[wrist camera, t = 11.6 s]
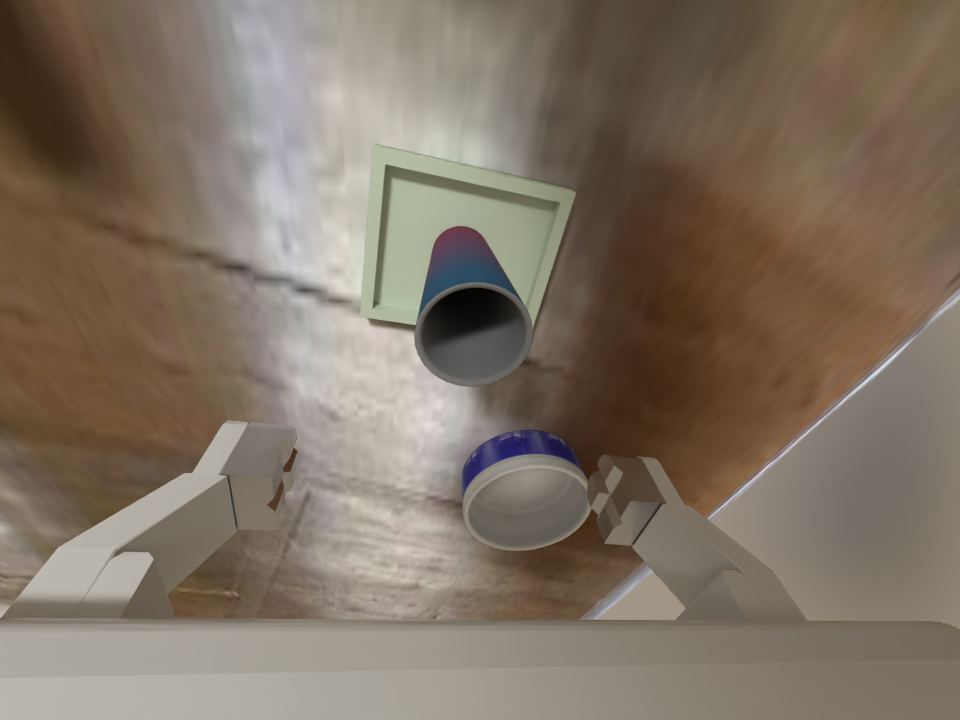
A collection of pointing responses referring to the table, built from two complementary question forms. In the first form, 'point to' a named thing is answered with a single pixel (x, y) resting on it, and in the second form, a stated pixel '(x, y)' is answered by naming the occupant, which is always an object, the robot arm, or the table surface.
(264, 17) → the table surface
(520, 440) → the dog bowl
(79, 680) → the robot arm
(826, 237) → the table surface
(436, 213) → the tray
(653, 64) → the table surface
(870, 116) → the table surface
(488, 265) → the cup
